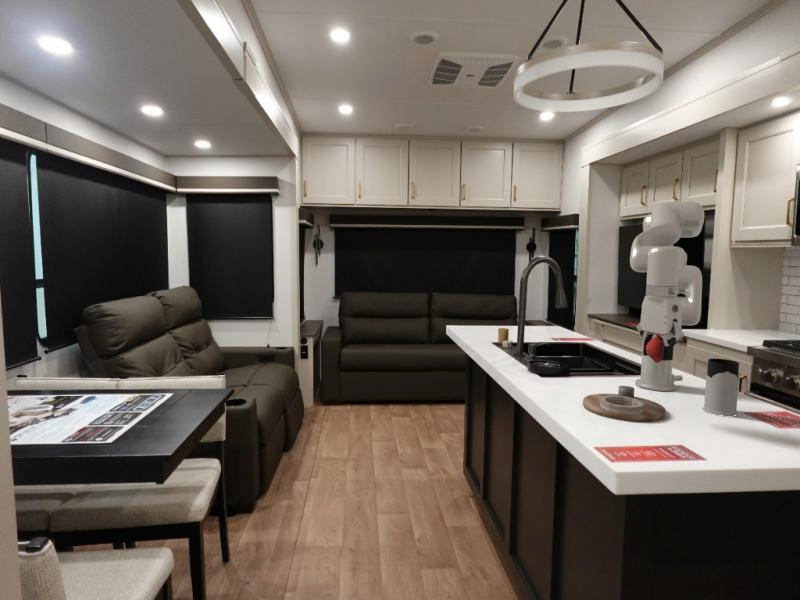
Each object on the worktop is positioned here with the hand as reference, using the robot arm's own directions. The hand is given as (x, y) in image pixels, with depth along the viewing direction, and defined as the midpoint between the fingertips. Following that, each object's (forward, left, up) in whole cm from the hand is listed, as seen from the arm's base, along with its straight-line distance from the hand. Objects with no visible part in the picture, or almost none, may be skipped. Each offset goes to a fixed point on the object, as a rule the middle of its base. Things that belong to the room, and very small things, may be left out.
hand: (657, 357), depth 133 cm
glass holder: (-25, -3, -18) cm, 31 cm away
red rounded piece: (0, 0, -2) cm, 2 cm away
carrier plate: (+3, -9, -17) cm, 20 cm away
